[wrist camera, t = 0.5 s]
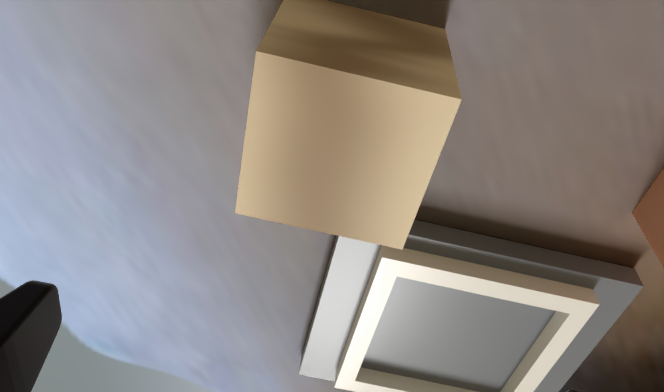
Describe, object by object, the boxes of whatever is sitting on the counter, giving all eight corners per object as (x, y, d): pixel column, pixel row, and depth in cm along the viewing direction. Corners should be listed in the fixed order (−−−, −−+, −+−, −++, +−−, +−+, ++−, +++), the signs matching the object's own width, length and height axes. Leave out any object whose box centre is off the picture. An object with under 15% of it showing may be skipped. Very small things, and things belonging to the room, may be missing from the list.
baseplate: (634, 268, 22) (651, 301, 20) (529, 404, 28) (537, 437, 26) (345, 204, 21) (341, 233, 20) (301, 357, 27) (296, 388, 26)
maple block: (445, 28, 17) (461, 99, 13) (400, 158, 20) (402, 249, 16) (288, -11, 17) (256, 51, 13) (266, 128, 20) (234, 212, 16)
